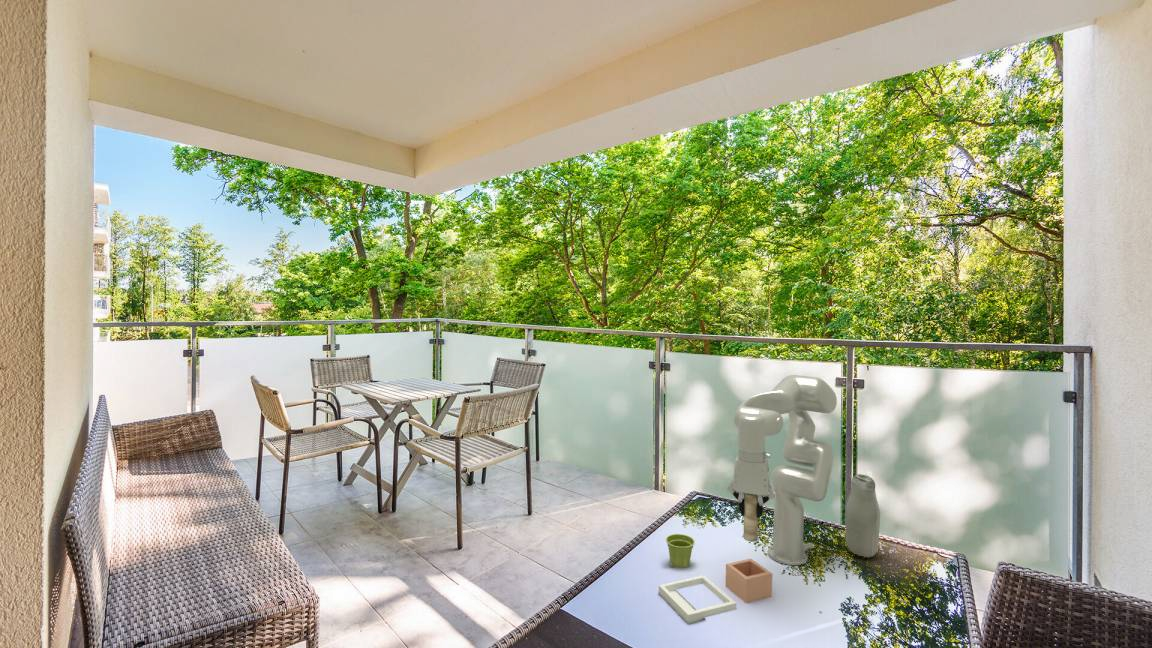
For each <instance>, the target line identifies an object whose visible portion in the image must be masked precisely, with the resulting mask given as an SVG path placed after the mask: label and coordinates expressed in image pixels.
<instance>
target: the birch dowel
mask: <svg viewBox="0 0 1152 648" xmlns="http://www.w3.org/2000/svg"><path fill="white" fill-rule="evenodd" d="M743 498H744V516H743V540H745V541H747V542H754V543H755V542H757V541H758V539H759V537H758V535H759V534H758V533H759V532H758V529H759V528H758V527H759V518H757V505H758V496H757V495H752V494H745V493H744V496H743Z"/></svg>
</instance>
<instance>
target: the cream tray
mask: <svg viewBox="0 0 1152 648" xmlns="http://www.w3.org/2000/svg"><path fill="white" fill-rule="evenodd" d="M699 584H703V585H704V586H705V587H707V589H709V590H710V591H711V592H712V593H713V594H714V595H716V596H717V597H718V598H719V599H720V600H722V602H723V603H719V604H715V605H711V606H706V607H704V608H699V609H696V608H695V607H694V606H693V605H692V604H691V603H690V602H689V601H688V600H687V599H686V598H685V597H684V596H683V595H682V594H681V593H680V592H679V591H677V590H678V589H683V588H688V587H691V586H696V585H699ZM658 594H659V596H660V597H661V598H662V599H663V600H665V602H666V603H667V604H668V605H669V606H670V607H671V609H673V610H674V611H675V612H676V613H677V614H678V615H679V616H680V617H681V619H682V620H683V621H685V623H686V624H687V625H690V624H694V623H698V622H702V621H706V620H707V619H706V618H705V617H708V616H709V617H710V616H713V615H717V614H720V613H725V612H728V611H729V612H730V611H733V610H737V602H736V601H735V600H734V599H732V598H731V597H730V596H729V595H728V594H726V593H725V592H724V591H723V590H722V589H721V588H719V586H717V584H715V583H713V582H712V581H711V580H710V579H709V578H708V577H706V576H705V575H704V574H702V575H699V576H694V577H690V578H685V579H680V580H676V581H672V582H671V581H670V582H666V583H662V584H659V585H658Z"/></svg>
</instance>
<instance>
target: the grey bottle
mask: <svg viewBox="0 0 1152 648" xmlns="http://www.w3.org/2000/svg"><path fill="white" fill-rule="evenodd" d="M880 524H881V511H880V505H879V503H878V499H877V493H876V482H875V481H874V479H873V478H872V477H870V476H868V475H867V474H866V475H865V474H861V473H860V474H859V473H857V474H855V475H854V476H852V478H851V480H850V491H849V496H848V497H847V502H846V505H845V543H846V545H847V548H848V549H849V551H850V552H852V553H853V554H854V555H855V554H857V555H859V556H858V557H860V556H864V557H863V558H866V557H867V558H871V557H873V556H874V555H875V554H876V553H877V552H878V551H879V544H880V543H879V542H880ZM857 555H856V556H857ZM870 556H871V557H870Z"/></svg>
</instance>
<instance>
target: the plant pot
mask: <svg viewBox="0 0 1152 648" xmlns="http://www.w3.org/2000/svg"><path fill="white" fill-rule="evenodd" d="M665 541H666V543H667V547H668V548H667V549H668V553H669V554H668V555H669V562H670V566H671V567H673V568H682V569H683V568H687V567H688V566H690V563H691V556H692V552H693V551H692V550H693V548H694V546H695V542H696V541H695V539H694V538H693V537H691V536H689V535H687V534H683V533H673V534H670V535H668V536H667V537H666V538H665Z"/></svg>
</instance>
